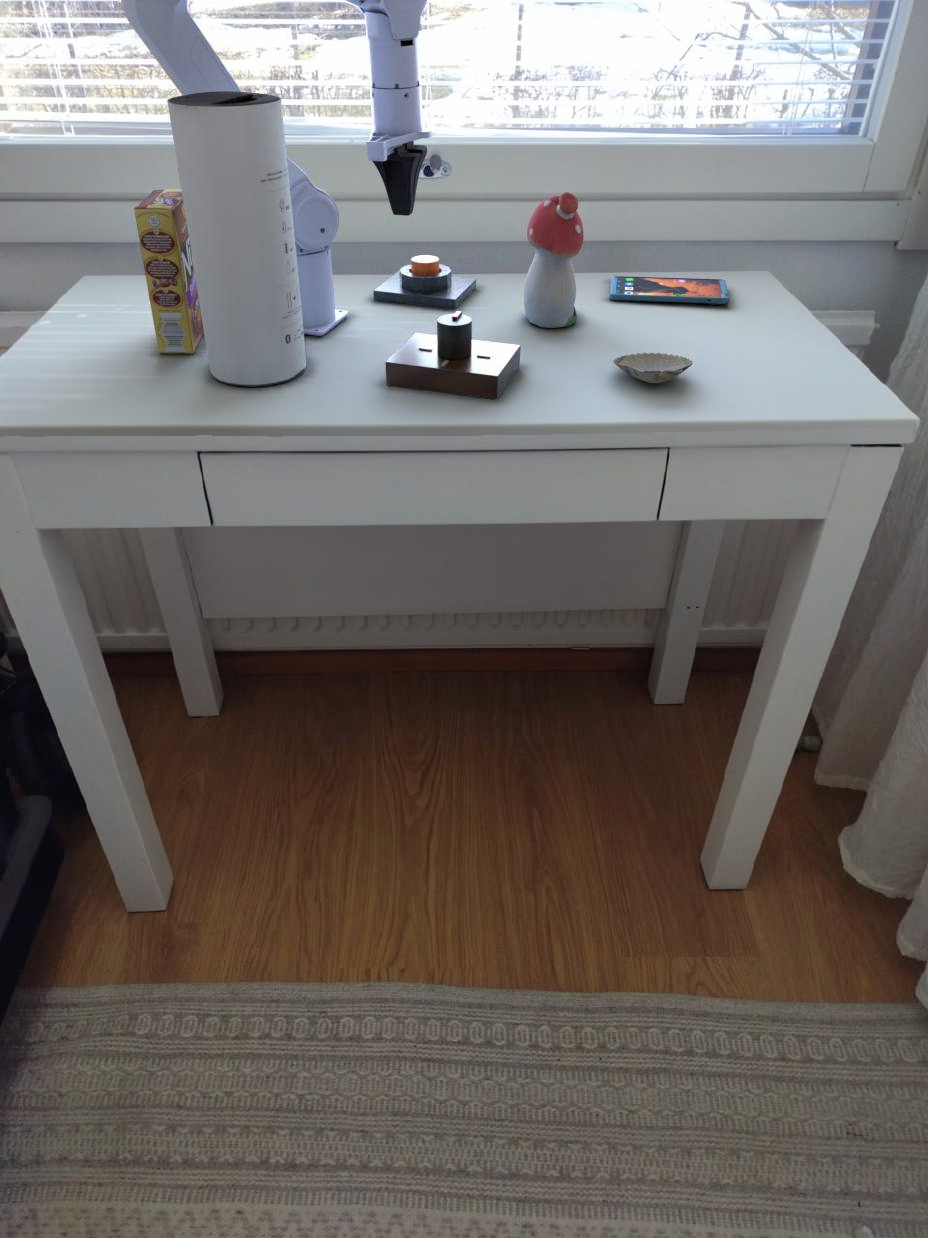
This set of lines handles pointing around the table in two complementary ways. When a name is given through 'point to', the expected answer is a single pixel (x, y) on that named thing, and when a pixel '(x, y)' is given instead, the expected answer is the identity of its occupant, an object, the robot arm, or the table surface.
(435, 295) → the switch base
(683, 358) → the seashell
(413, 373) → the dial panel
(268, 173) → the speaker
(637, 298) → the smartphone
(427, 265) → the switch
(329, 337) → the table surface
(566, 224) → the decorative ornament
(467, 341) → the dial
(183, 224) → the candy box
